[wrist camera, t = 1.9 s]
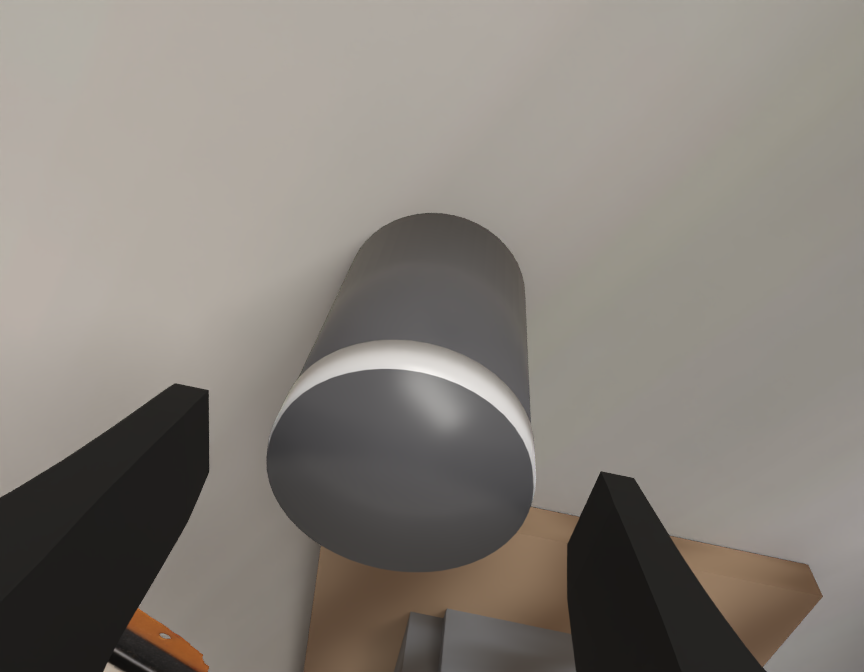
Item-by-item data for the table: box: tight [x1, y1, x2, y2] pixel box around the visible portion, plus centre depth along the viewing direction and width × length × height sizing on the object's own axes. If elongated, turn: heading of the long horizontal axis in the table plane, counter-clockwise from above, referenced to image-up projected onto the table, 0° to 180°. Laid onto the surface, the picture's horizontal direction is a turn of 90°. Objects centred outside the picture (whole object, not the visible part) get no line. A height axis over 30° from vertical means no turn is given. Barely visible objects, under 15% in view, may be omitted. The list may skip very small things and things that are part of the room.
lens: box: [267, 213, 536, 572], centre depth 14 cm, size 5×5×7 cm
